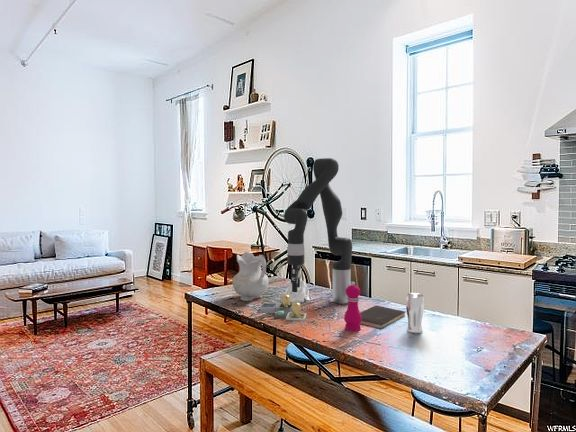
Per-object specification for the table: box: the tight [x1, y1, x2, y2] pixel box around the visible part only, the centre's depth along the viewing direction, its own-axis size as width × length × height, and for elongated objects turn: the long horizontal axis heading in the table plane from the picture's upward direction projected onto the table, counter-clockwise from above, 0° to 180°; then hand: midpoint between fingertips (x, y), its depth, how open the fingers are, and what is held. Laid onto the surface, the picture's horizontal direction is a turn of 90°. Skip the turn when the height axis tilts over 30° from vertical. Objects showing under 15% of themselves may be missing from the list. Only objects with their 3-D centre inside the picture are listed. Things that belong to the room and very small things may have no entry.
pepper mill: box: [343, 281, 362, 332], centre depth 167 cm, size 7×7×20 cm
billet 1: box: [280, 293, 291, 308], centre depth 190 cm, size 4×4×7 cm
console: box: [273, 312, 288, 320], centre depth 181 cm, size 5×5×2 cm
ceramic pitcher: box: [231, 251, 270, 302], centre depth 214 cm, size 22×20×25 cm
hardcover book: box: [359, 305, 406, 329], centre depth 182 cm, size 16×23×2 cm
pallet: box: [258, 302, 292, 314], centre depth 191 cm, size 16×10×3 cm, turn 81°
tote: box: [285, 312, 307, 322], centre depth 180 cm, size 8×8×2 cm
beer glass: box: [405, 292, 425, 334], centre depth 164 cm, size 7×7×15 cm
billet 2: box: [291, 302, 302, 318], centre depth 180 cm, size 4×4×7 cm
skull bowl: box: [284, 279, 311, 304], centre depth 208 cm, size 10×14×12 cm
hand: (296, 289), depth 179 cm, fingers open, 8 cm apart
